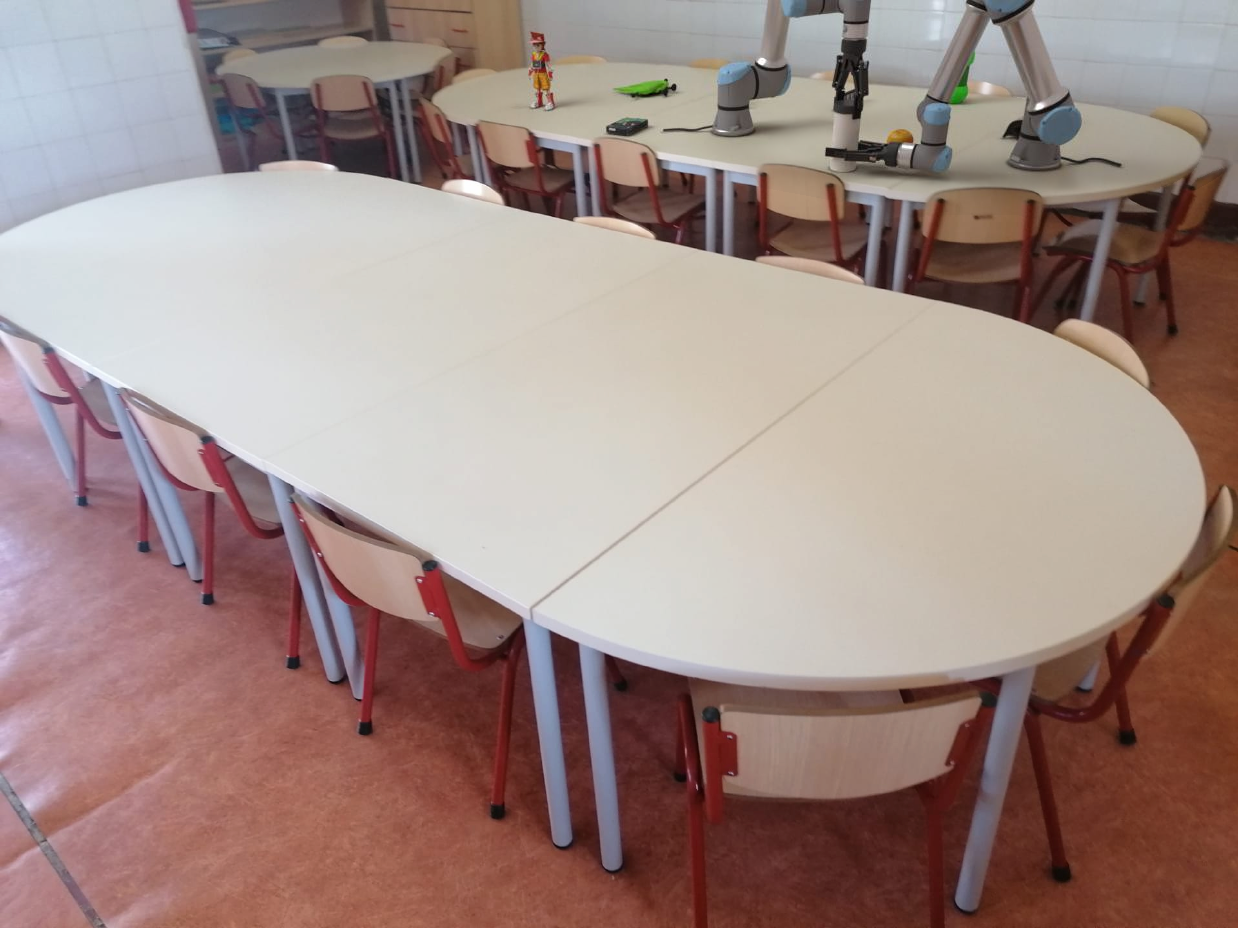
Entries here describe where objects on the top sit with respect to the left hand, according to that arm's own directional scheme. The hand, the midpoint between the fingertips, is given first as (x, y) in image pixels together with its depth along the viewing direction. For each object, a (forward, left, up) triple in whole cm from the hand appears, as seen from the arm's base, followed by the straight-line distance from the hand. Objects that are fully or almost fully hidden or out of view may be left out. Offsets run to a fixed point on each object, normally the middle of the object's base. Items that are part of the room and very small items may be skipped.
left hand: (847, 115), depth 284 cm
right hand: (-5, 0, -11) cm, 12 cm away
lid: (0, 0, +4) cm, 4 cm away
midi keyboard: (-26, +78, -17) cm, 84 cm away
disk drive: (-92, +17, -17) cm, 95 cm away
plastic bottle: (+12, +97, -17) cm, 99 cm away
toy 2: (-118, +74, -17) cm, 140 cm away
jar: (0, 0, -17) cm, 17 cm away
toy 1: (-145, +37, -17) cm, 150 cm away
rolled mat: (+47, +65, -17) cm, 82 cm away
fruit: (+11, +24, -17) cm, 31 cm away
